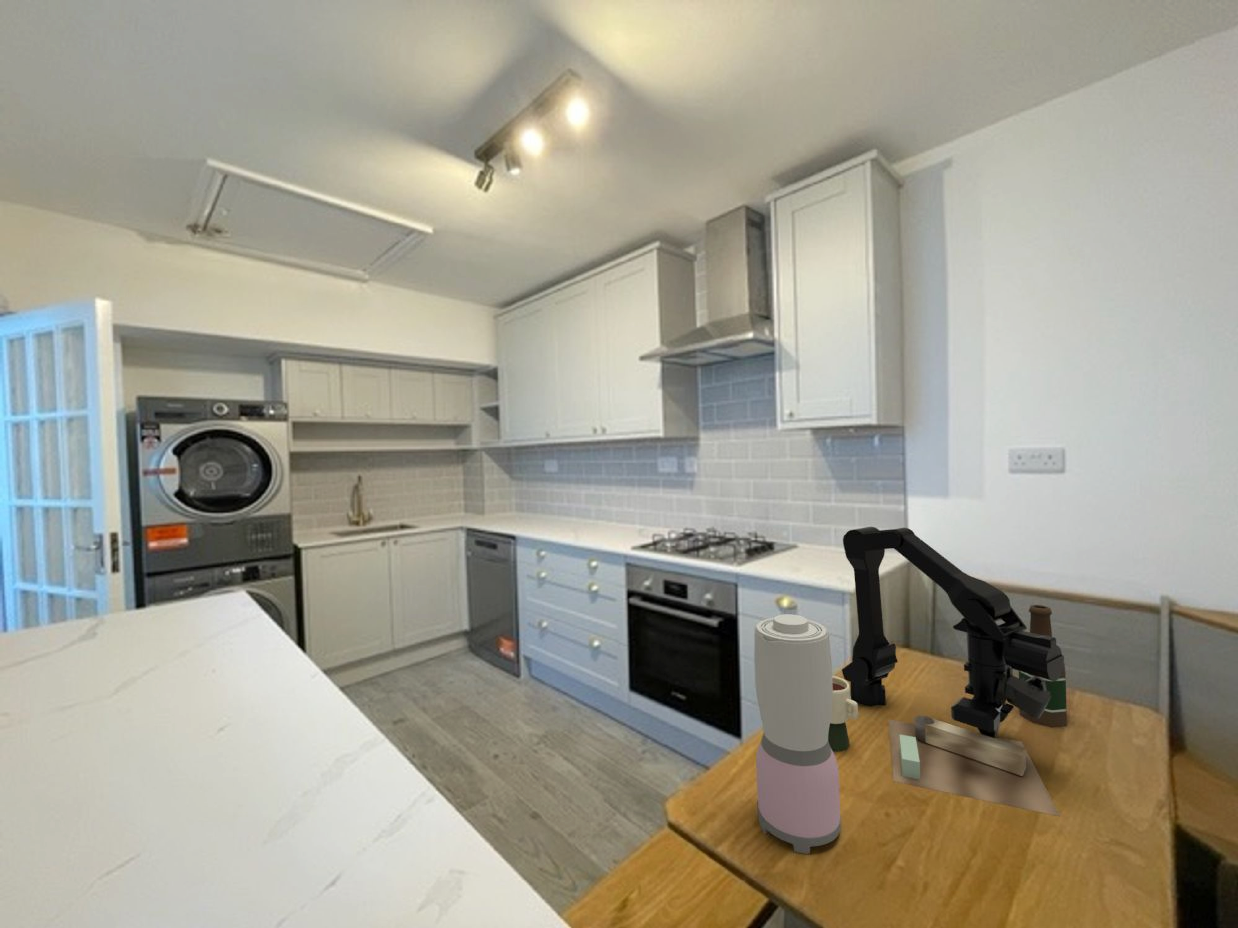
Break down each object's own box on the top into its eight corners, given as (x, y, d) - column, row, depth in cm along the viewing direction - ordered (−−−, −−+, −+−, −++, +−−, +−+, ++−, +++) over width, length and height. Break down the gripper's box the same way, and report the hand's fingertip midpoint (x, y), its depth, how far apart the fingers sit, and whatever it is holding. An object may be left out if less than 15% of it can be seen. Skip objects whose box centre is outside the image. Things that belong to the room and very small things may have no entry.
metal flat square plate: (893, 789, 86) (893, 780, 86) (888, 726, 105) (888, 719, 105) (1060, 825, 76) (1060, 815, 76) (1021, 749, 95) (1021, 741, 95)
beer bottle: (1057, 717, 105) (1054, 601, 105) (1077, 737, 98) (1074, 613, 97) (1012, 712, 108) (1009, 599, 107) (1028, 732, 101) (1024, 611, 100)
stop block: (902, 775, 87) (902, 758, 87) (899, 750, 94) (899, 734, 94) (920, 779, 86) (919, 762, 86) (916, 753, 93) (915, 737, 93)
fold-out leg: (912, 738, 97) (912, 720, 97) (918, 731, 100) (918, 713, 99) (1022, 776, 85) (1021, 755, 85) (1026, 767, 87) (1025, 747, 87)
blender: (815, 869, 71) (806, 640, 70) (741, 824, 80) (732, 621, 79) (864, 812, 81) (857, 612, 80) (794, 778, 90) (787, 598, 89)
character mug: (870, 755, 96) (867, 686, 95) (848, 770, 91) (846, 699, 91) (817, 731, 104) (815, 668, 104) (796, 743, 100) (793, 678, 100)
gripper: (1029, 693, 79) (1033, 791, 80) (1057, 655, 91) (1060, 741, 92) (948, 671, 88) (952, 760, 88) (983, 639, 100) (986, 718, 100)
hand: (990, 744), depth 92 cm, fingers closed
